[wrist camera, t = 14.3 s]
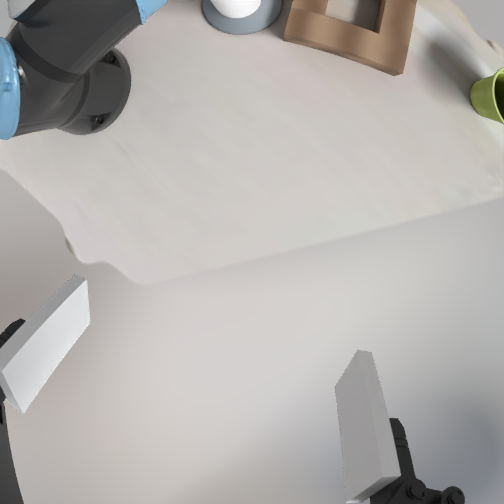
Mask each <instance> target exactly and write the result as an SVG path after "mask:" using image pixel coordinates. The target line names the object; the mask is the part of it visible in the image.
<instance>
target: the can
mask: <svg viewBox="0 0 504 504" xmlns="http://www.w3.org/2000/svg"><path fill="white" fill-rule="evenodd" d="M211 2H212V3H213V5H214V6H215V7H216V9H217V10H218V11H219V12H220V13H221V14H222V15H224V16H226V17H229V18H243V17H246V16H249V15H251V14H252V13H254V12H255V11H256V10H257V9H258V8H259V6H260V3H261V0H211Z"/></svg>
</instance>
